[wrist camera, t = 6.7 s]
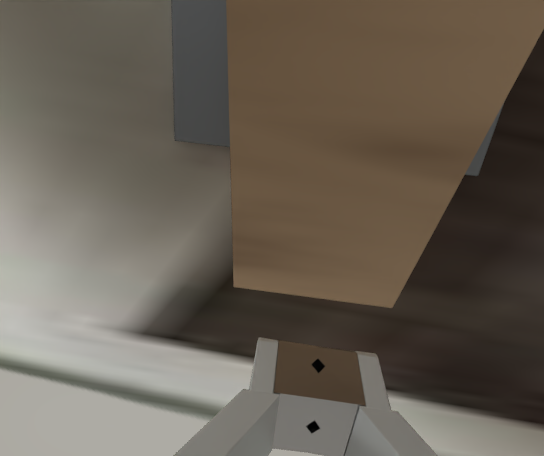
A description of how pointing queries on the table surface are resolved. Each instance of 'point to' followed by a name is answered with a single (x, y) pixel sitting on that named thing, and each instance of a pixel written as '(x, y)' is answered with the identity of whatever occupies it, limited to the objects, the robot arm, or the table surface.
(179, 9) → the mat
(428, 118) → the walnut block
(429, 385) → the table surface
